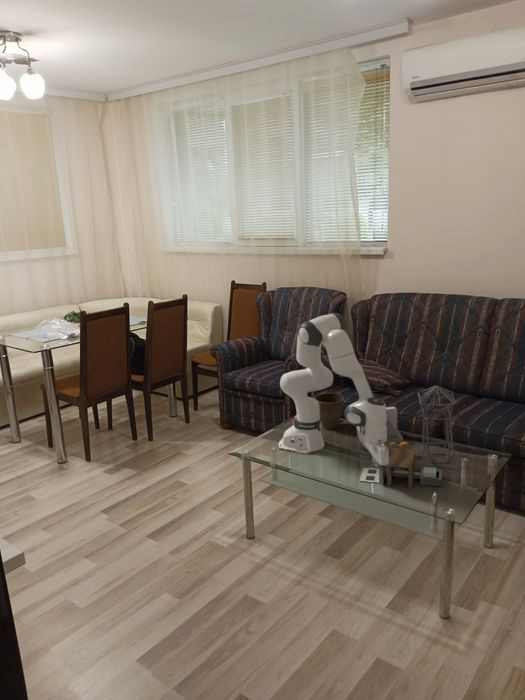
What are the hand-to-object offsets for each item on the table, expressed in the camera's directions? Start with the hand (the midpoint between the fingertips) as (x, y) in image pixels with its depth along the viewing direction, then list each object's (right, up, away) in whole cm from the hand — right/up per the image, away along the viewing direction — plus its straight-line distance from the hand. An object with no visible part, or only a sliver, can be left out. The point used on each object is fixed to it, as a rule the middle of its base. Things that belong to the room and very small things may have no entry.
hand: (376, 465), depth 240 cm
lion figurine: (+14, 0, +17) cm, 22 cm away
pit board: (-2, -5, +2) cm, 6 cm away
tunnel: (+10, -5, -2) cm, 11 cm away
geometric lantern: (+29, 0, +13) cm, 32 cm away
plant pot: (-13, +9, +57) cm, 59 cm away
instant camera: (+9, +5, +37) cm, 39 cm away
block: (+21, -5, -5) cm, 22 cm away
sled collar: (+14, -5, -3) cm, 15 cm away
